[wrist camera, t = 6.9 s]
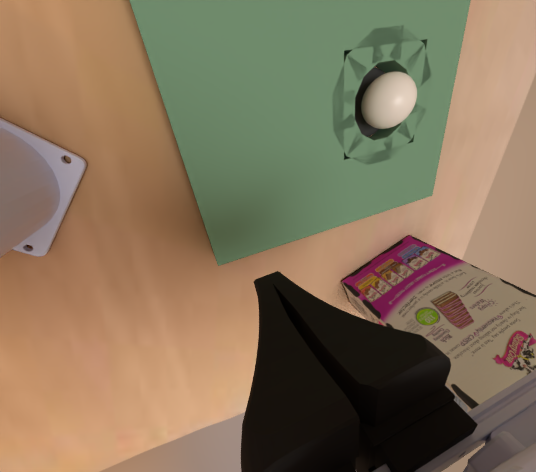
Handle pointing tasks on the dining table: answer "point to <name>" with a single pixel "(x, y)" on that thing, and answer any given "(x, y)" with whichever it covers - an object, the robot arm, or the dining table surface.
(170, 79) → the putting mat
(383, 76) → the ball
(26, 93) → the dining table surface
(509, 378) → the candy bar box
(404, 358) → the robot arm
